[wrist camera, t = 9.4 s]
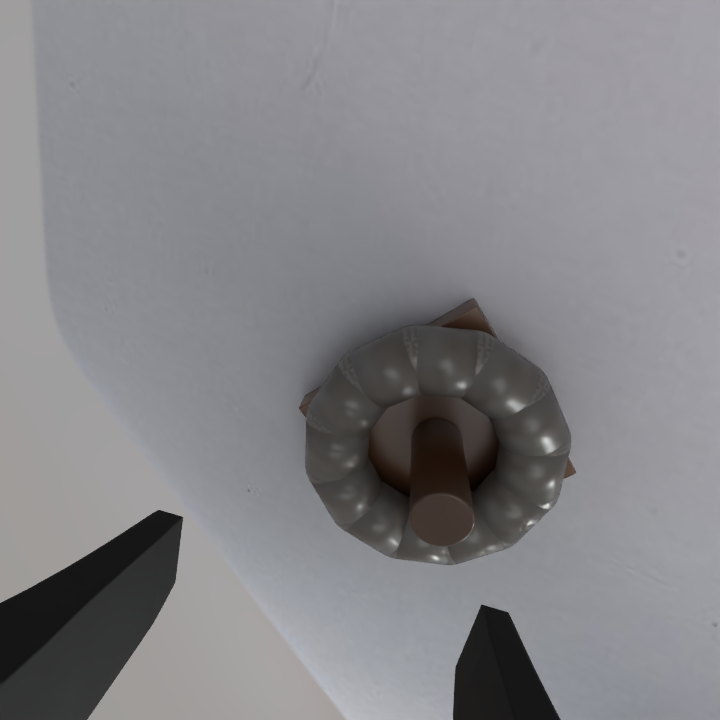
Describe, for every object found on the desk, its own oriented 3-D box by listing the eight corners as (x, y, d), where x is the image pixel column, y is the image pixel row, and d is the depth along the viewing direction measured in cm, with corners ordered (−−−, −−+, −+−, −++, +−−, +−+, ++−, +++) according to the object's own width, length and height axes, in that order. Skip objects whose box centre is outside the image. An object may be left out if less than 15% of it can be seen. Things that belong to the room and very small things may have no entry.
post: (404, 532, 24) (399, 651, 18) (304, 395, 22) (263, 478, 16) (568, 457, 22) (623, 564, 16) (473, 297, 20) (496, 352, 14)
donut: (309, 521, 23) (297, 560, 20) (315, 308, 19) (301, 327, 17) (534, 547, 22) (547, 591, 20) (581, 330, 18) (604, 353, 16)
